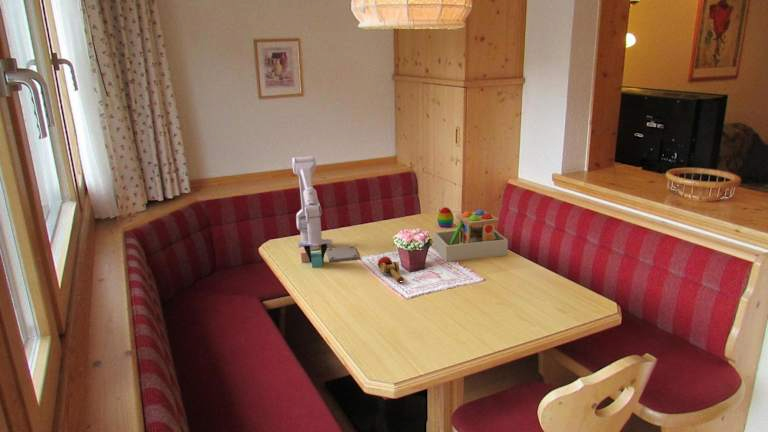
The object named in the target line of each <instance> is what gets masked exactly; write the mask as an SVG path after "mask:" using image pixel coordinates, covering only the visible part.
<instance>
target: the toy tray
mask: <svg viewBox="0 0 768 432" xmlns="http://www.w3.org/2000/svg"><path fill="white" fill-rule="evenodd" d="M456 230H457V229H455V230H454V229H453V230H447V231H446V230H445V231H444V230H443V231H436V232H433V248H434V249H435V250H436V251H437V253H438V254H439V255H440V256H441V257H442V258H443V260H445V262H448V263H449V262H455V261H457V262H458V261H465V260H474V259H482V258H491V257H493V258H494V257H500V256H502V257H503V256H507V255H508V248H509V247H508V245H509V244H508V243H509V240H508V239H507V238H506V237H505V236H504V235H502V234H501V233H500V232H499V231H497V230H496V229H494V236H495V237H496V239H494V241H485V242H475V243H466V244H459V235H460V233H459V234H458V237H457V239H456V241H455V243H454V245H449V244H450V242H451V240H452V238H453V236H454V233H455V231H456ZM474 234H475V233H474V232H473V231H471V236H472V235H474ZM455 244H456V245H455Z"/></svg>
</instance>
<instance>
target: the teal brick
mask: <svg viewBox="0 0 768 432" xmlns="http://www.w3.org/2000/svg"><path fill="white" fill-rule="evenodd" d="M311 260H312V263H310V264H311V267H312V268H319V267H320V268H321V267H323V262H322V255H321V251H316V252H311Z"/></svg>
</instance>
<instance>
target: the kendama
mask: <svg viewBox="0 0 768 432" xmlns="http://www.w3.org/2000/svg"><path fill="white" fill-rule="evenodd" d="M377 267H378V269H379V271H380V273H381V274H382V275H384V274H386V273H387V272H388V273H389V272H390V274H391V276H392V277H393V278H394V280H395V282H396V283H397V282H400V281H403V282H404V280H405V278H404V277H403V276H402V275H401V274H399V271H400V265H399V262H398V261H392V259H391V258H390V257H388V256H382V257H380V258H379V260H378V261H377Z"/></svg>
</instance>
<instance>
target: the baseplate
mask: <svg viewBox="0 0 768 432" xmlns="http://www.w3.org/2000/svg"><path fill="white" fill-rule="evenodd" d="M325 254H326V256H327V258H328V259H327V260H328V262H329V263H334V262H335V263H336V262H345V261H353V260H359V259H360V257H359V255H358V253H357V250H356V248H355V246H354V245H348V246H342V247H340V246H339V247H338V246H337V247H327V250H326V252H325Z"/></svg>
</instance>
